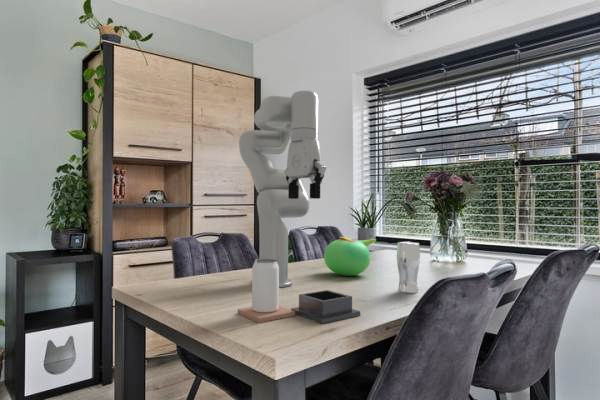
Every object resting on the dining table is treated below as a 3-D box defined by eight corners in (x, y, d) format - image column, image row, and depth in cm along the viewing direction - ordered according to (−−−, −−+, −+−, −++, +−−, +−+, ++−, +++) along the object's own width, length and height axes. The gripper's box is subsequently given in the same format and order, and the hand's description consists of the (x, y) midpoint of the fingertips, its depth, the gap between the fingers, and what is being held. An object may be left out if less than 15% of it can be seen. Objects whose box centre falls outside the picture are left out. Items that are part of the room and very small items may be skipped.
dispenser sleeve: (290, 312, 102) (291, 294, 102) (327, 305, 109) (327, 288, 109) (322, 323, 92) (322, 303, 92) (360, 315, 100) (360, 296, 100)
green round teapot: (315, 274, 157) (315, 235, 157) (344, 269, 169) (344, 233, 169) (351, 281, 144) (351, 239, 144) (380, 275, 155) (381, 236, 156)
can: (252, 306, 103) (252, 258, 103) (278, 306, 104) (278, 258, 104) (251, 313, 97) (251, 262, 97) (279, 313, 97) (279, 262, 98)
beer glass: (420, 294, 124) (421, 244, 124) (396, 293, 125) (397, 243, 125) (418, 289, 130) (419, 242, 131) (396, 288, 132) (396, 241, 132)
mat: (237, 313, 101) (237, 309, 101) (271, 307, 107) (271, 303, 107) (259, 322, 93) (259, 318, 93) (294, 315, 99) (294, 311, 99)
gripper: (275, 139, 119) (275, 198, 119) (313, 131, 106) (312, 198, 106) (296, 141, 124) (296, 198, 124) (335, 134, 110) (334, 198, 110)
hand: (303, 198), depth 115 cm, fingers open, 9 cm apart
